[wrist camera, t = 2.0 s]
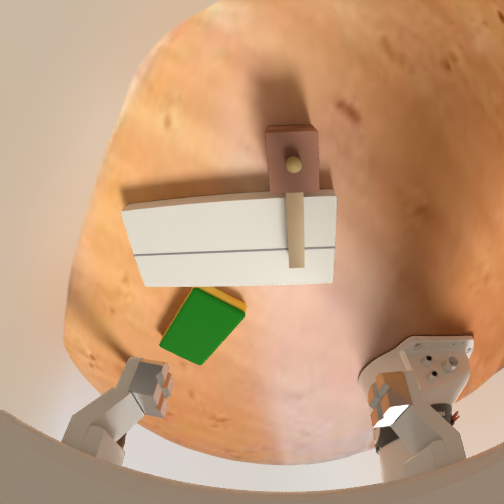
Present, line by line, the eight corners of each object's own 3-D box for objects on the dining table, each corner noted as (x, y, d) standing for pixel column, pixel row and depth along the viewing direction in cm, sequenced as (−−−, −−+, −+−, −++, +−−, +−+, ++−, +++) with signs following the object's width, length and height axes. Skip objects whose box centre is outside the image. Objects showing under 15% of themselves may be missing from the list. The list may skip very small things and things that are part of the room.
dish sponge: (248, 302, 36) (246, 315, 34) (203, 354, 43) (200, 366, 41) (198, 276, 35) (193, 288, 33) (162, 334, 42) (158, 346, 40)
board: (333, 188, 27) (336, 196, 26) (330, 272, 32) (332, 283, 31) (128, 204, 30) (120, 211, 28) (150, 277, 35) (145, 286, 33)
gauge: (310, 124, 24) (319, 132, 19) (313, 246, 31) (319, 278, 26) (267, 125, 25) (264, 134, 20) (276, 247, 31) (275, 279, 26)
